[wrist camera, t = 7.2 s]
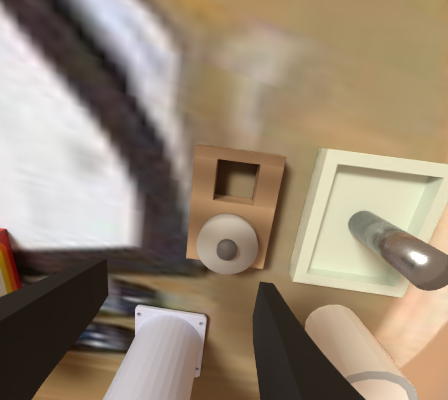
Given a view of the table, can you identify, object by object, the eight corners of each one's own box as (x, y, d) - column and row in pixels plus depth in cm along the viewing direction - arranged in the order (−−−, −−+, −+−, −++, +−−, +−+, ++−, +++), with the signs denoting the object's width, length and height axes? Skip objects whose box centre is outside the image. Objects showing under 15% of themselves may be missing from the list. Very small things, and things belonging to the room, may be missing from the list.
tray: (388, 284, 21) (402, 297, 19) (288, 269, 21) (292, 281, 19) (440, 163, 17) (463, 166, 15) (319, 147, 17) (328, 148, 16)
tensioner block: (260, 257, 21) (265, 284, 17) (191, 247, 21) (180, 272, 17) (280, 155, 18) (292, 159, 14) (199, 144, 18) (189, 146, 14)
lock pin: (371, 237, 19) (447, 292, 12) (344, 234, 19) (404, 287, 12) (380, 212, 18) (465, 256, 11) (352, 209, 18) (420, 251, 11)
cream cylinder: (308, 294, 22) (340, 364, 15) (374, 306, 21) (436, 382, 15) (291, 342, 24) (313, 424, 17) (351, 353, 23) (397, 440, 17)
